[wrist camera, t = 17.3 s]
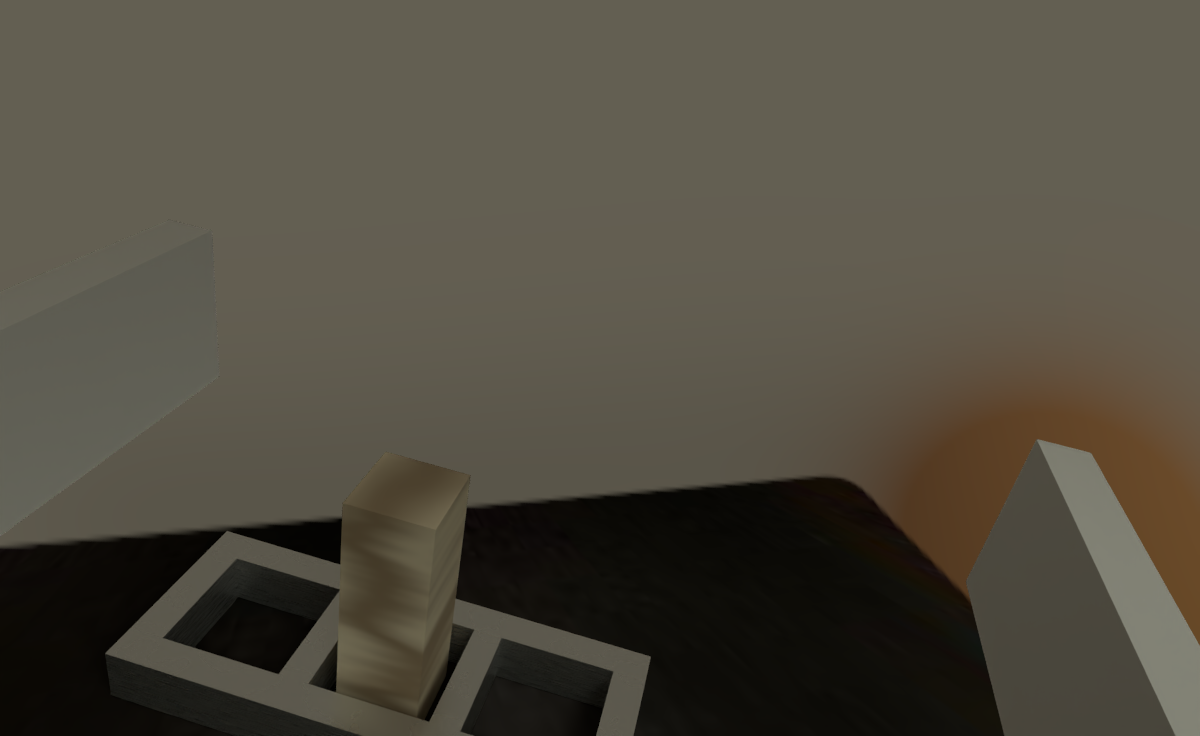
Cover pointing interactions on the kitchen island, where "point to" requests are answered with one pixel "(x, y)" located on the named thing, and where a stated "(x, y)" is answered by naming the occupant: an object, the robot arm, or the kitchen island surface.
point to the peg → (399, 583)
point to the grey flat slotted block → (302, 689)
